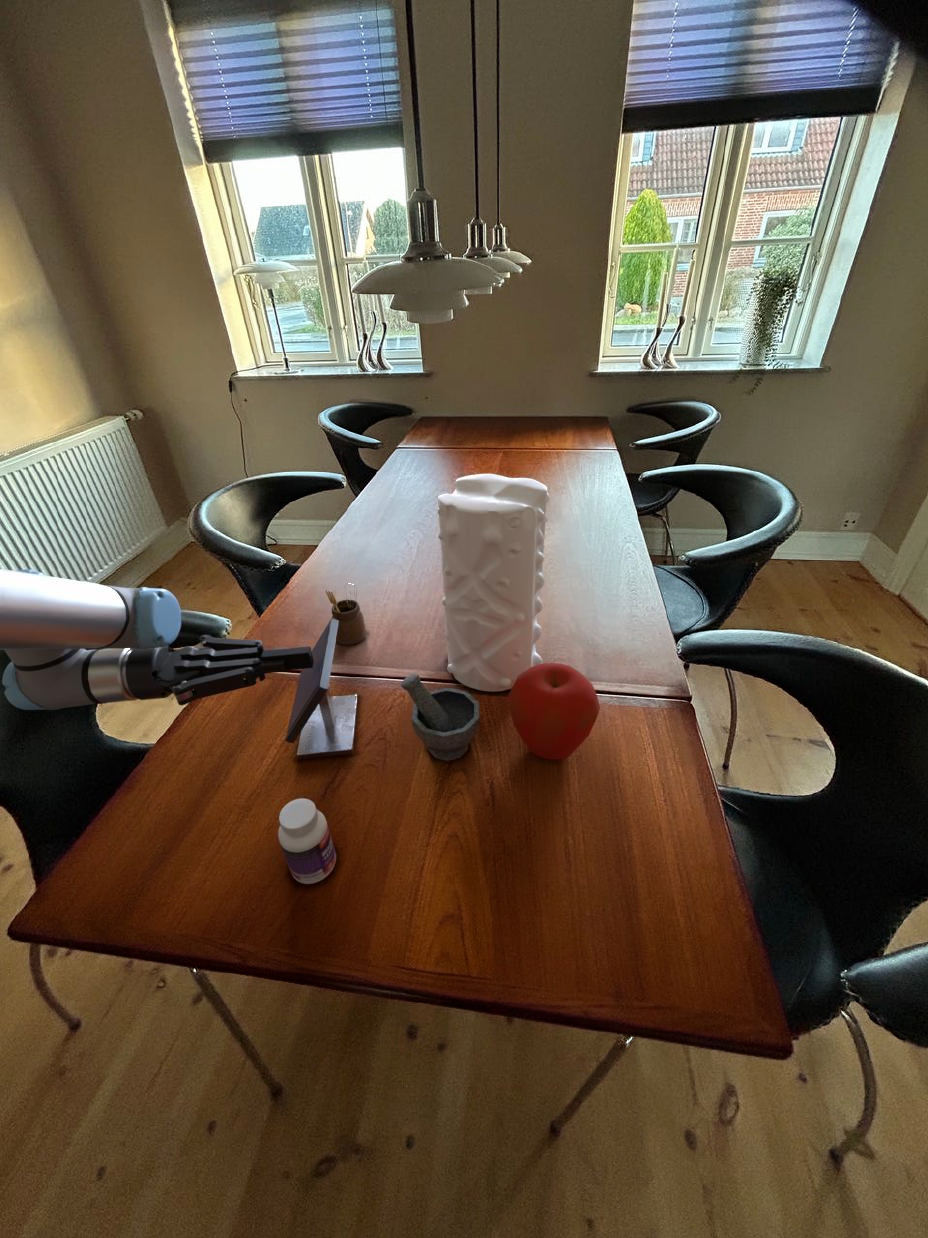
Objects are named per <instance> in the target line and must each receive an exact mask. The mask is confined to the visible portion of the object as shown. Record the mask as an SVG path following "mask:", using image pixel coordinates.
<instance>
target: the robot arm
mask: <svg viewBox="0 0 928 1238" xmlns="http://www.w3.org/2000/svg"><path fill="white" fill-rule="evenodd" d="M181 628H182V610H181V606H180V604H179V601H178V599H177V598H176V596H175V595H174V594H173V593H172V592H171V591H169V590H168V589H165V588H159V587H156V588H154V587H147V586H141V587H121V586H116V585H109V584H101V583H95V582H89V581H83V580H76V579H70V578H63V577H59V576H58V577H56V576H50V575H45V573H43V572H40V571H38V570H36V569H30V568H28V569H27V568H26V569H17V570H12V569H5V568H0V651H4V652H5V653H6V655H7V656H8V658H9V659H10V661H11V662H9V663H8V665H7V666H6V668H5V669H4V672H3V674H2V681H1V682H2V686H4V687H5V690H4V692H3V693H4V695H5V697H6V699H7V701H8V702H9V703H10V704H11V705H12V706H13V707H16V708H18V709H20V710H24V711H42V710H44V711H45V710H46V711H47V710H48V711H57V710H60V709H68V708H74V707H75V708H76V707H83V706H89V705H105V704H112V703H122V702H133V701H138V700H140V701H151V700H158V699H159V700H160V699H166V698H169V697H171V695H174V697H175V700H176V702H177V704H178V705H179V706H185V705H187V704H190V703H191V702H195V701H196V700H198V699H204V698H208V697H211V696H212V697H213V696H216V695H220V694H224V693H228V692H232V691H236V690H240V689H246V688H249V687H253V686H255V685H257V679H259V682H263V681H264V680H266V675H267V674H276V673H283V672H287V671H293V670H301V669H306V668H313V663H314V660H313V656H312V652H311V651H312V647H311V646H310V645H309V646H300V647H299V646H298V647H278V648H269V649H268V648H264V645H263V641H262V640H260V639H245V638H227V637H225V638H224V637H223V638H222V637H213V636H211V635H209V634H203V635H201V636H199V641H200V642H199V643H197V644H196V645H194V646H185V647H181V648H178V649H175V648H172V647H170V645H171V644H172V643H173V642H175V640H176V639H177V638H178V636H179V633H180V631H181Z"/></svg>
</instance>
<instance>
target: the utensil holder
mask: <svg viewBox="0 0 928 1238" xmlns="http://www.w3.org/2000/svg"><path fill="white" fill-rule="evenodd" d="M347 585H349V582H347V583H346V585H344V587H343V588H344V594H347V588H348V586H347ZM351 585H352V586H356V585H355V583H354V582H351ZM353 591H354V592H353V594H354V595H355V597H357V596H358V595H357V594H358V591H357V589H356V587H353ZM325 594H326V596H327V598H328V600H329V602H330V604H332V606H331V615H332V616H331V618H333V619H335V620H338V621H339V623H338V629H337V635H336V641H337V643H339V644H340V645H345V646H346V645H347V646H350V645H355V644H357V643H360V642H361V641H363V640H364V638H365V637H366V633H367V632H366V631H367V630H366V623H365V618H364V615H363V614H364V613H363V612H362V611H361V607H360V604H359V602H358V601H357V598H353V599H348V598H347V596H343V598H344V599H341V600H339V601H337V599H336V597H335V595H334V593H333V592H332V591H329V590H327V589H326V590H325ZM349 594H352V592H351V586H349Z"/></svg>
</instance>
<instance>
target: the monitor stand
mask: <svg viewBox="0 0 928 1238" xmlns="http://www.w3.org/2000/svg"><path fill="white" fill-rule="evenodd" d="M358 700H359V699H358V695H357V694H356V693H355V694H348V695H347V694H346V695H337V696H332V695H331V691H330V686H328V691H327V692H326V694H325V695H324V697H323V698H322V700H321V701H320V703H319V704H318V706H317V708H316V709H315V711H314V712H313V714H312V715H311V717H310V718H309V720H308V722H307V723H306V725H305V726H304V728H303V729H302V731H301V732H300V734H299V741H298V746H297V751H296V758H297V760H298V761H299V760H309V759H316V758H317V759H319V758H326V757H336V756H347V755H353V754H354V747H355V734H356V723H357V712H358V711H357V710H358Z"/></svg>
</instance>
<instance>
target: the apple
mask: <svg viewBox="0 0 928 1238" xmlns="http://www.w3.org/2000/svg"><path fill="white" fill-rule="evenodd" d="M506 697H507V703H508V707H509V712H510V716H511V721H512V724H513V727H514V729H515V731H516V732H517V734H518V736H519V737H520V738H521V740H522V742H523V744H524V745H525V746H526V748H527V750H529V751H530V752H531V753H533V754H534V755H536V756H538V757H540V758H543V759H546V760H562V759H564V758H568V757H570V756H571V755H573V753H575V751H576V750H578V748H579V747H580V746H581V745H582V744H583V742H585V740H586V739H587V738H588V737H589V736H590V735H591V732H592V730H593V727H594V725H595V724H596V721H597V718H598V716H599V713H600V710H601V705H600V702H599V699H598V695H597V692H596V690H595V687H594V685H593V683H592V682H591V681H590V680H589V679H588V678H587V677H586V676H585V675H584V674H583V673H582V672H580V671H578V670H577V669H575V668H573V666H570V665H568V664H563V663H559V662H543V663H542V664H540V665H536V666H533V667H530V668H528V669H526V670H525V671H524V672H522V673H521V674H520V675H518V677H517V679H516V681H515V683H514V685H513V687H512V688H511V689H510V691H509V693H508V695H507V696H506Z"/></svg>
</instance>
